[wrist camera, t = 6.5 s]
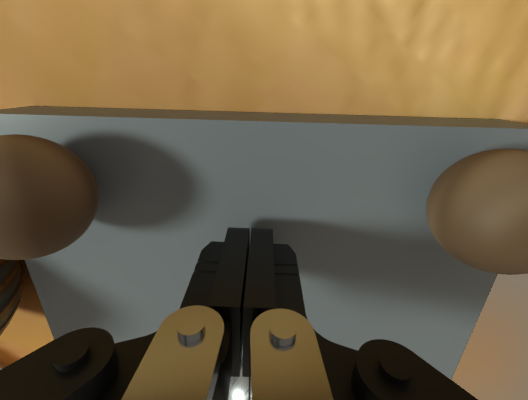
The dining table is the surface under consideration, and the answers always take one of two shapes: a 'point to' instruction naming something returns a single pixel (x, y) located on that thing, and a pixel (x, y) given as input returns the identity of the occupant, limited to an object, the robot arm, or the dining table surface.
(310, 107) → the dining table surface
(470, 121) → the hole plate
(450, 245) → the walnut ball
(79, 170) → the walnut ball
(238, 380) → the steel ball
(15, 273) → the vase
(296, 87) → the dining table surface
